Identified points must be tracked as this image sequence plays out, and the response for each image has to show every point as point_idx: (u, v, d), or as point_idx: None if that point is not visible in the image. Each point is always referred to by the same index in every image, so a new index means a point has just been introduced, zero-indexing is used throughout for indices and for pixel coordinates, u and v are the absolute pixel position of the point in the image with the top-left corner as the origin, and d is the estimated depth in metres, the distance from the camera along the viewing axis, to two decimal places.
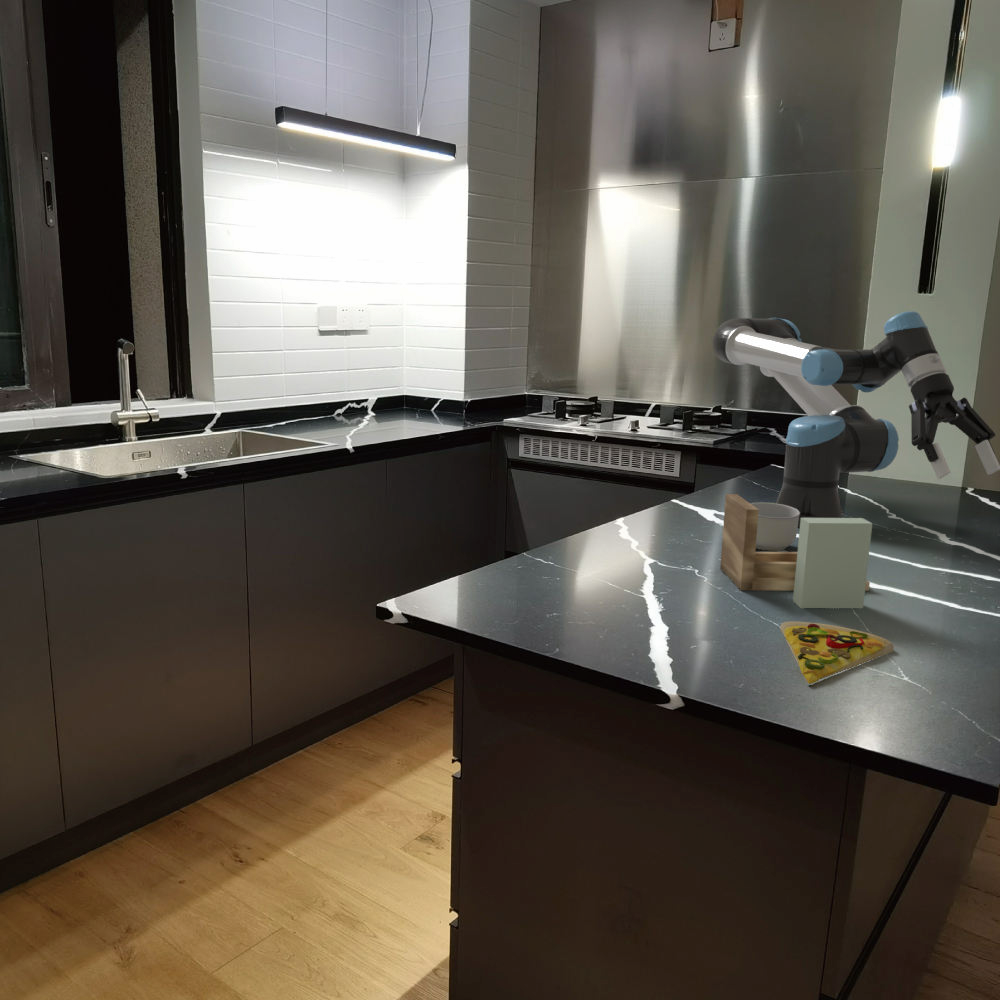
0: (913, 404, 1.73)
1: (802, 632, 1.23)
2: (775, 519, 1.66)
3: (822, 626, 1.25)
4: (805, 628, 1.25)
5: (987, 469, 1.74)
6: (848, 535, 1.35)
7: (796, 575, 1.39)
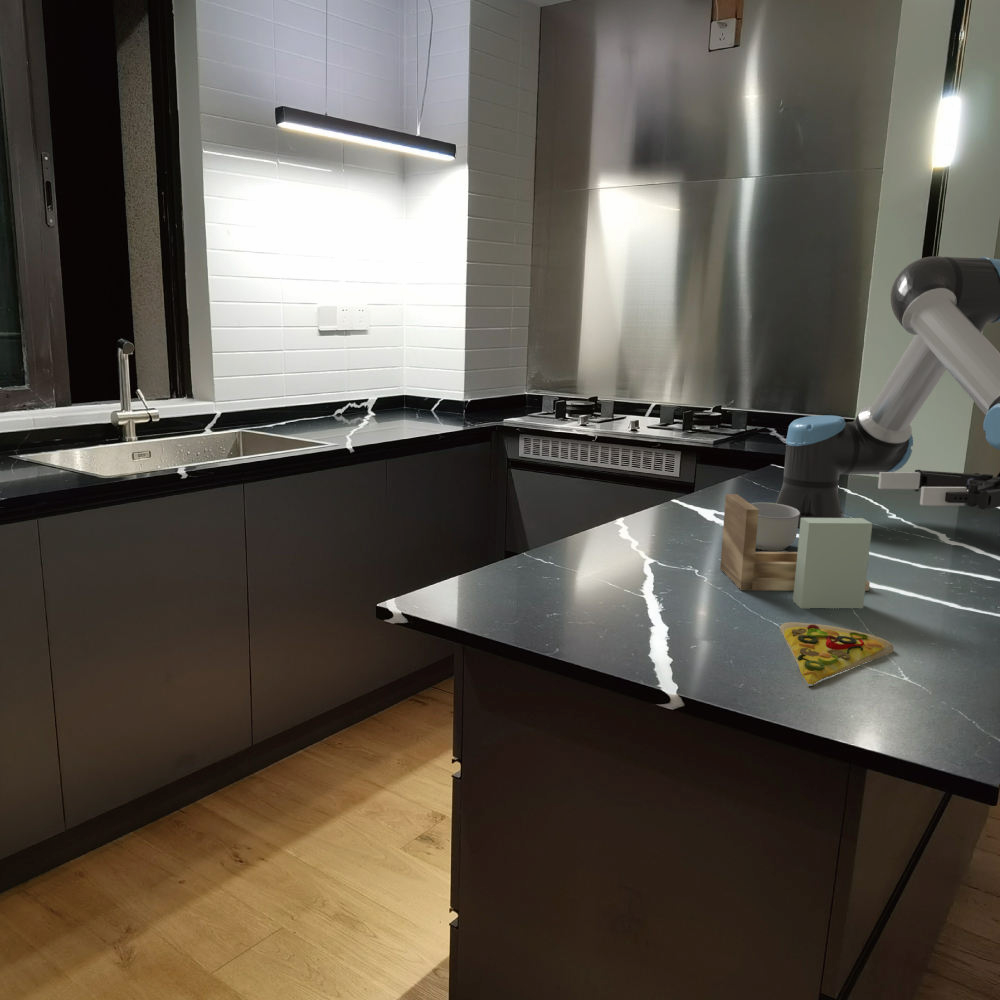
0: None
1: (802, 633, 1.22)
2: (775, 519, 1.66)
3: (822, 627, 1.25)
4: (805, 629, 1.24)
5: (887, 475, 1.42)
6: (848, 535, 1.35)
7: (796, 575, 1.39)
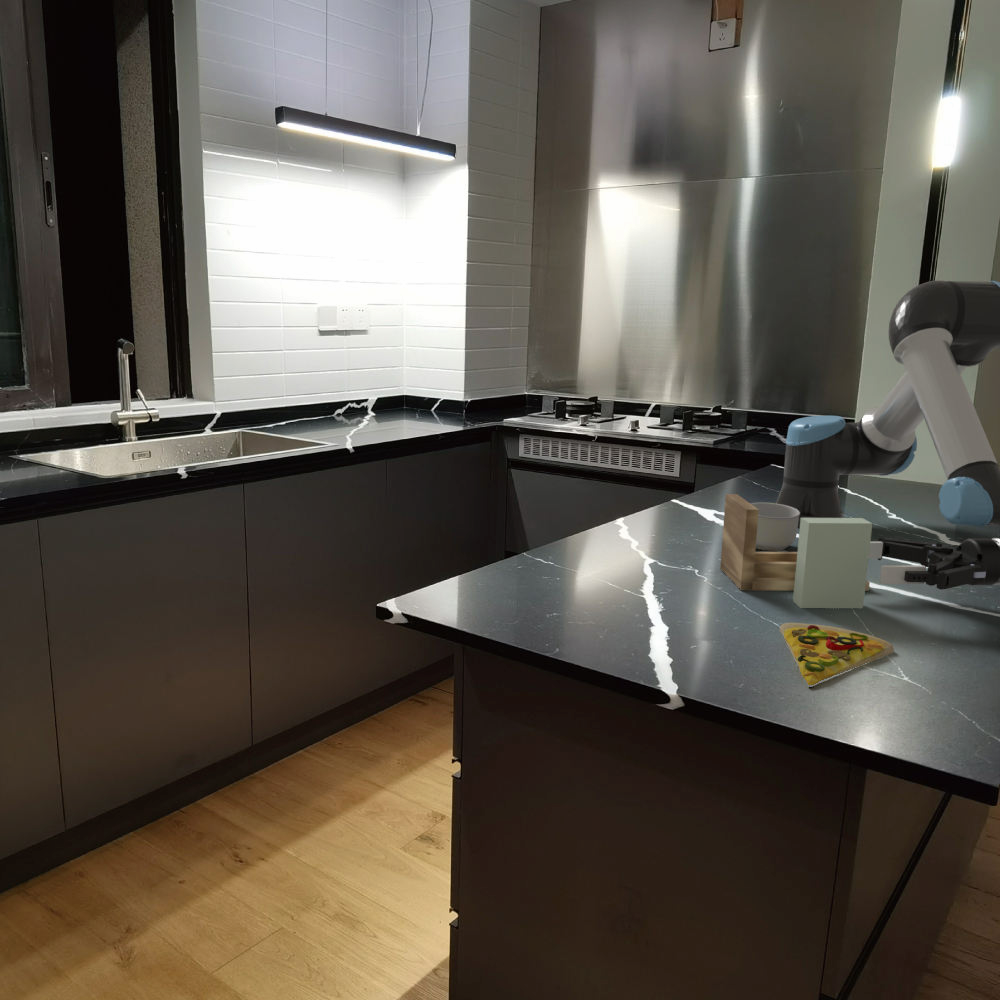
0: (983, 575, 1.31)
1: (802, 634, 1.22)
2: (775, 519, 1.66)
3: (822, 627, 1.24)
4: (805, 629, 1.24)
5: None
6: (848, 535, 1.35)
7: (796, 575, 1.39)
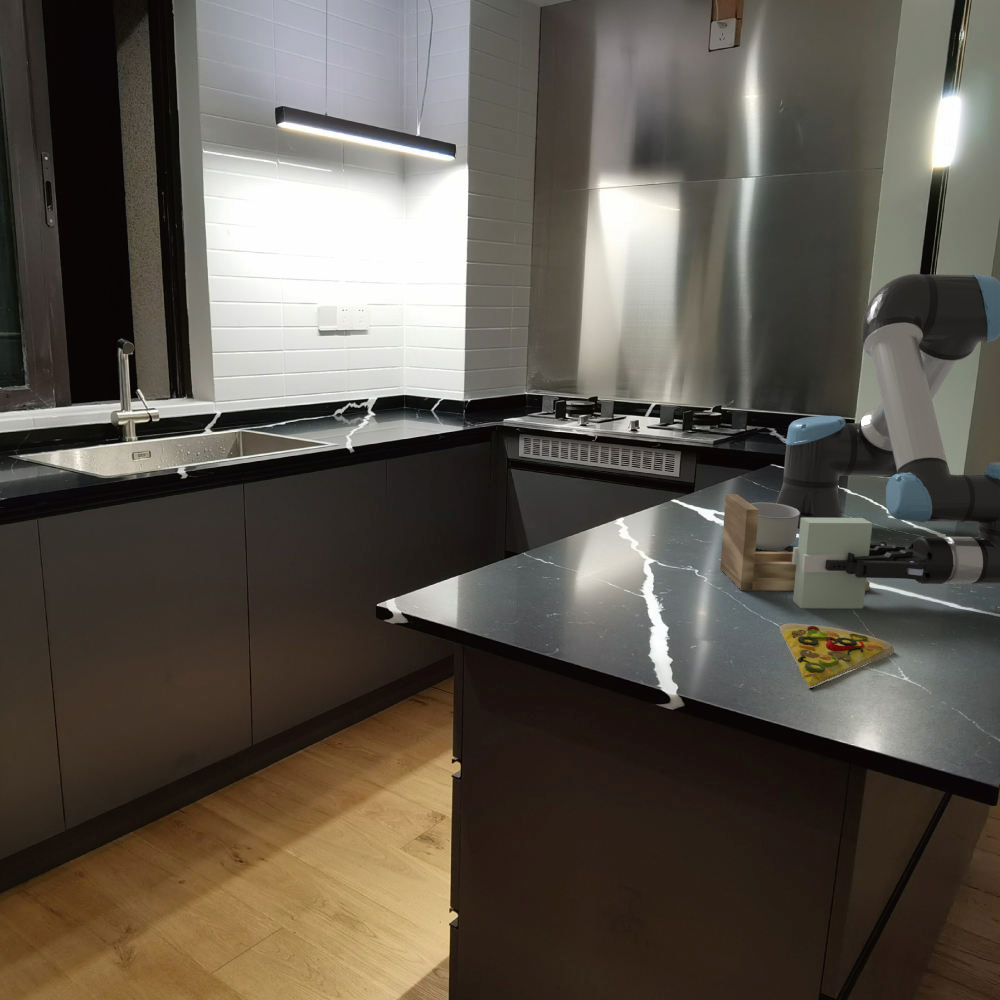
0: (918, 573, 1.32)
1: (802, 634, 1.22)
2: (775, 519, 1.66)
3: (822, 628, 1.24)
4: (805, 630, 1.24)
5: None
6: (848, 535, 1.35)
7: (796, 575, 1.39)
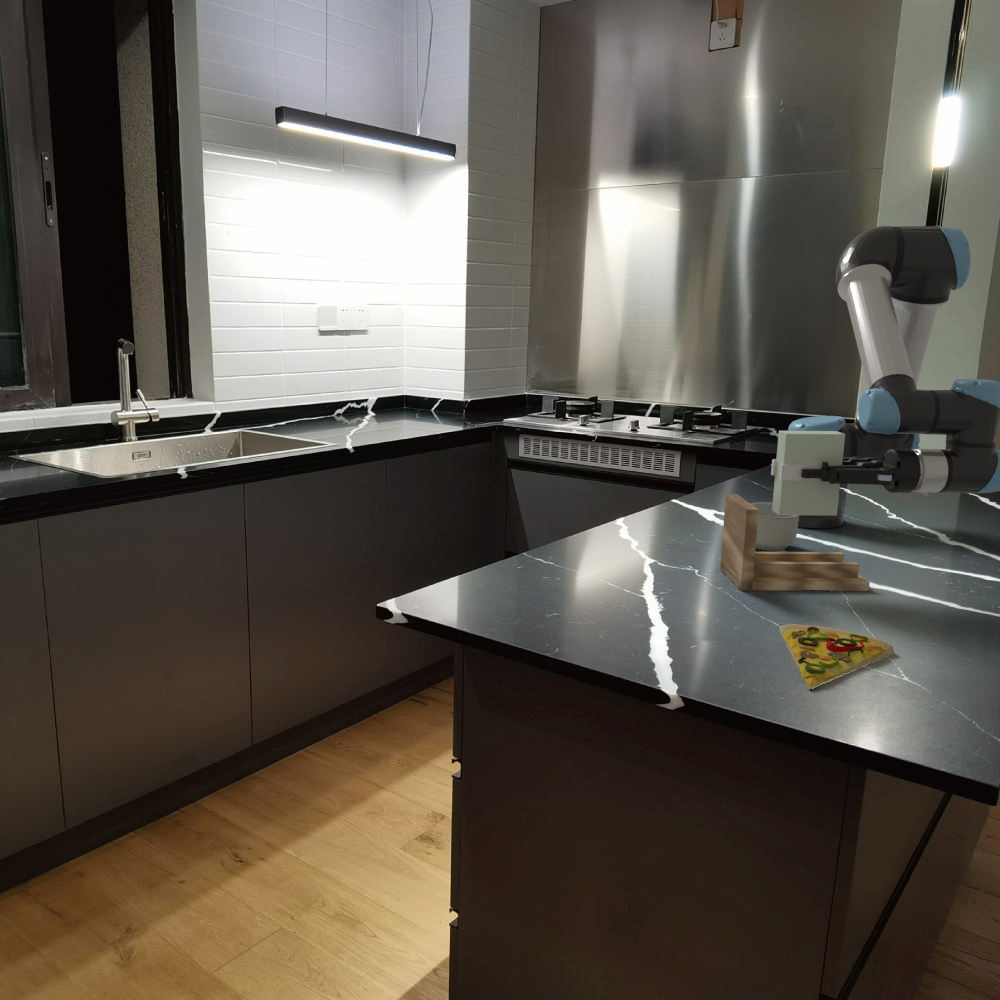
0: (887, 478, 1.41)
1: (802, 635, 1.22)
2: (775, 519, 1.66)
3: (822, 629, 1.24)
4: (805, 631, 1.24)
5: None
6: (823, 445, 1.45)
7: (775, 485, 1.49)
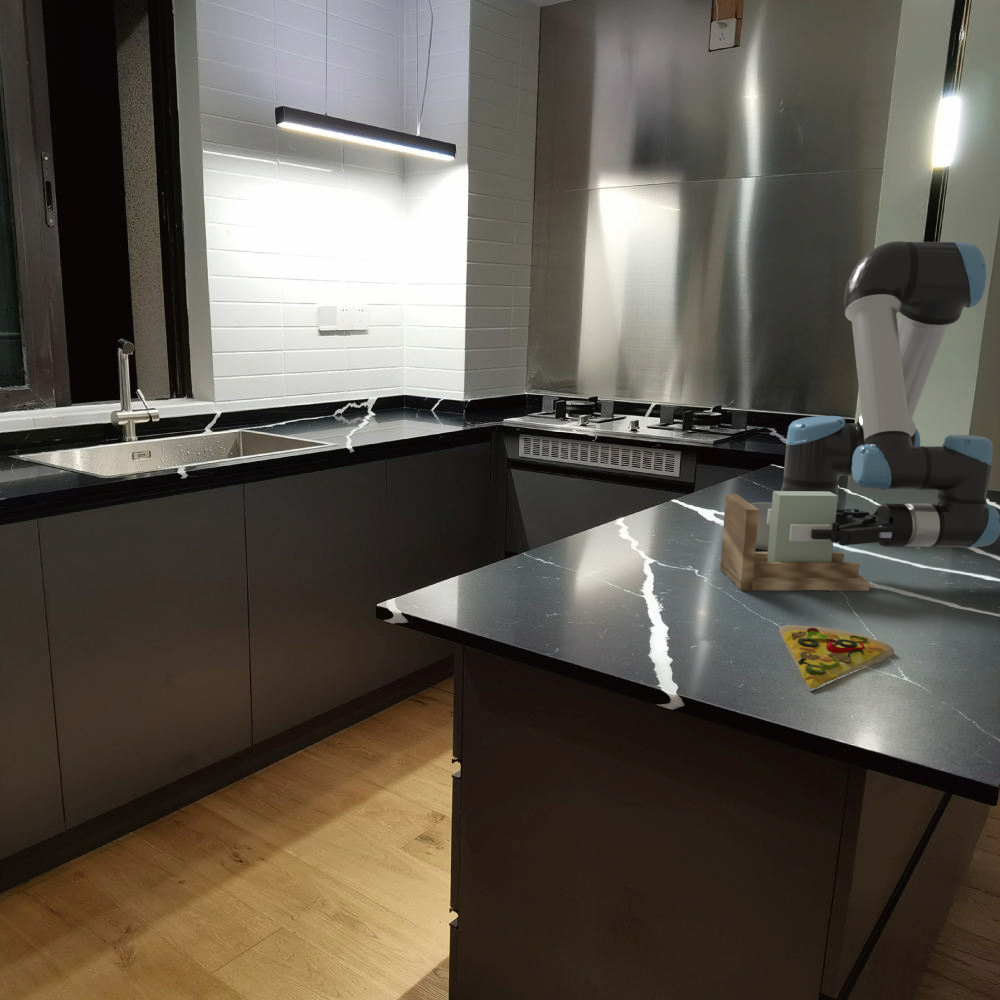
0: (889, 535, 1.44)
1: (802, 636, 1.21)
2: None
3: (821, 630, 1.24)
4: (805, 632, 1.23)
5: None
6: (816, 507, 1.47)
7: (769, 544, 1.52)
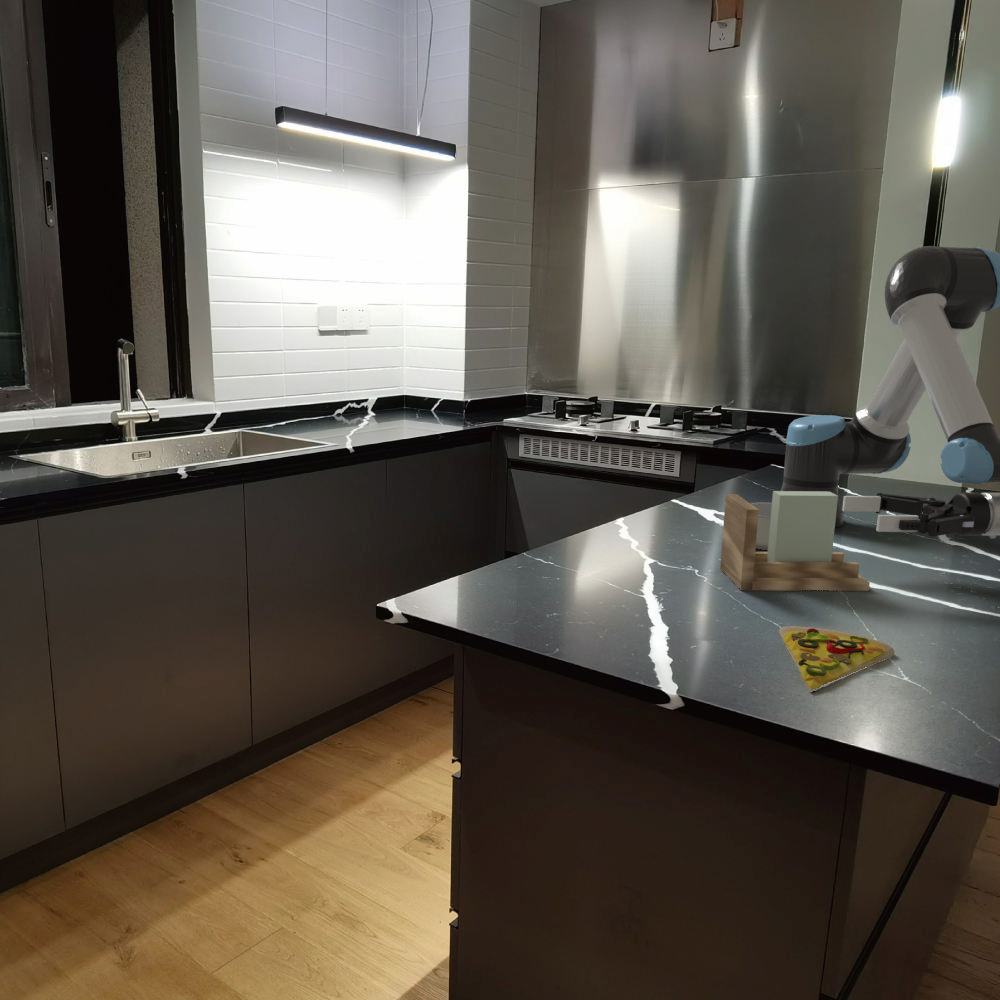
0: (971, 524, 1.44)
1: (802, 637, 1.21)
2: None
3: (821, 631, 1.23)
4: (805, 633, 1.23)
5: (850, 499, 1.56)
6: (816, 507, 1.47)
7: (769, 544, 1.52)
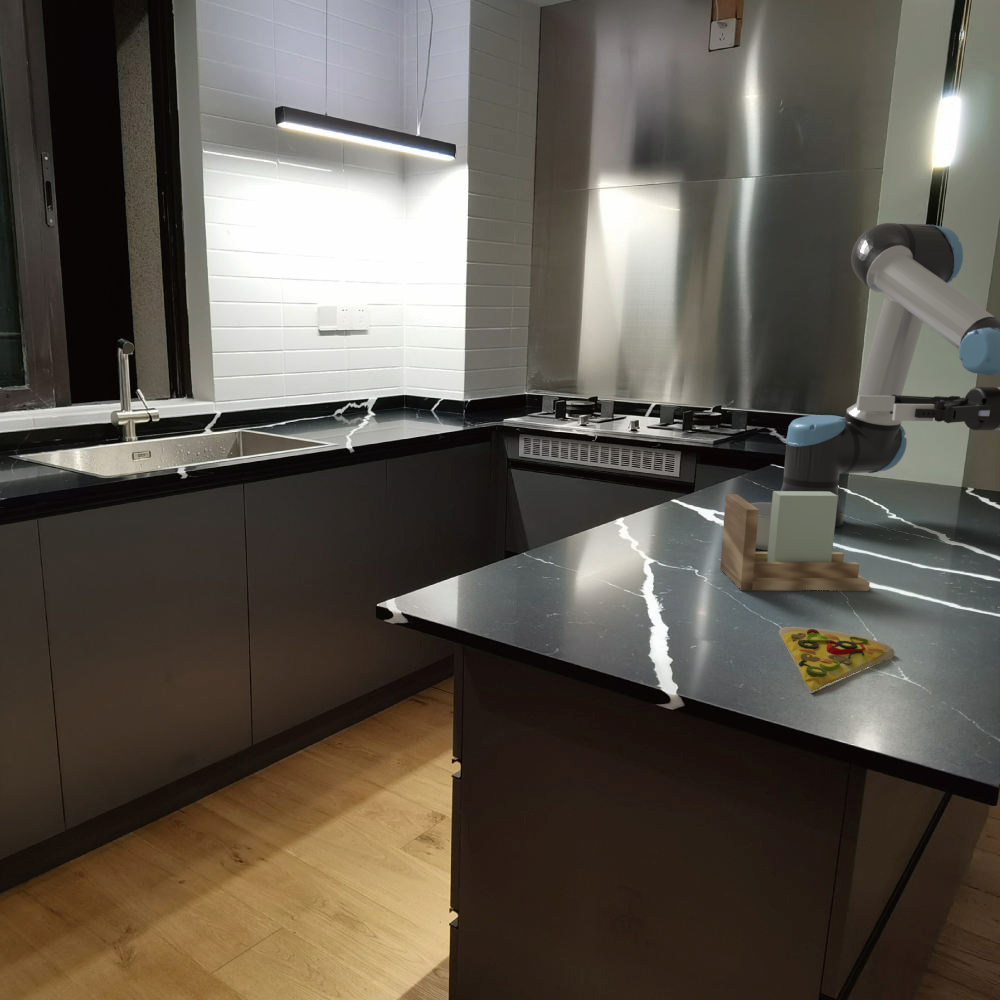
0: (987, 413, 1.44)
1: (802, 638, 1.21)
2: None
3: (821, 631, 1.23)
4: (804, 633, 1.23)
5: (864, 398, 1.56)
6: (816, 507, 1.47)
7: (769, 544, 1.52)
